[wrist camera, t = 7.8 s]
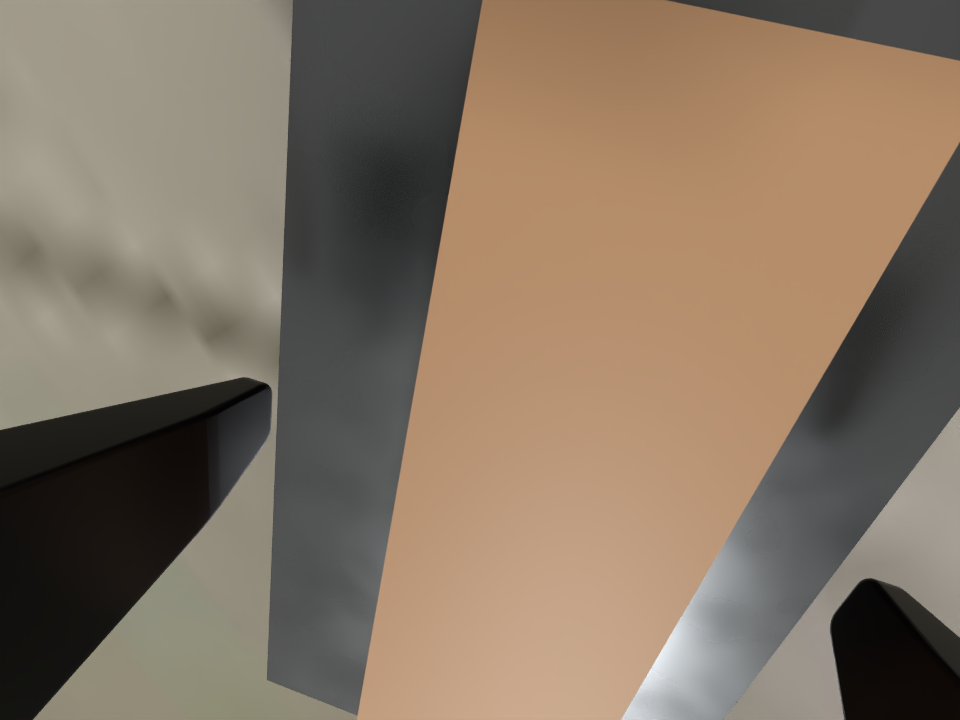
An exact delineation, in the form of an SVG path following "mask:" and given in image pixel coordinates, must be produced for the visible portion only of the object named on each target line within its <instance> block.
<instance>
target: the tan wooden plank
mask: <svg viewBox="0 0 960 720" xmlns="http://www.w3.org/2000/svg"><path fill="white" fill-rule="evenodd" d="M959 142H960V61H958V60H953V59H949V58H944V57H939V56H934V55H929V54H924V53H919V52H915V51H910V50H905V49H900V48H895V47H890V46H885V45H881V44H876V43H871V42H866V41H861V40H856V39H851V38H847V37H842V36H837V35H832V34H827V33H822V32H818V31H813V30H808V29H803V28H798V27H793V26H788V25H784V24H779V23H774V22H769V21H764V20H759V19H754V18H750V17H745V16H740V15H735V14H730V13H725V12H720V11H716V10H711V9H706V8H701V7H696V6H691V5H687V4H682V3H677V2H672V1H667V0H483V1H482V6H481V12H480V18H479V23H478V29H477V35H476V41H475V46H474V52H473V58H472V64H471V69H470V75H469V81H468V86H467V92H466V98H465V104H464V109H463V115H462V121H461V126H460V132H459V138H458V144H457V149H456V155H455V161H454V167H453V172H452V178H451V184H450V189H449V195H448V201H447V207H446V212H445V218H444V224H443V230H442V235H441V241H440V247H439V252H438V258H437V264H436V270H435V275H434V281H433V287H432V293H431V298H430V304H429V310H428V315H427V321H426V327H425V333H424V338H423V344H422V350H421V355H420V361H419V367H418V373H417V378H416V384H415V390H414V396H413V401H412V407H411V413H410V418H409V424H408V430H407V436H406V441H405V447H404V453H403V459H402V464H401V470H400V476H399V481H398V487H397V493H396V499H395V504H394V510H393V516H392V521H391V527H390V533H389V539H388V544H387V550H386V556H385V562H384V567H383V573H382V579H381V584H380V590H379V596H378V602H377V607H376V613H375V619H374V625H373V630H372V636H371V642H370V647H369V653H368V659H367V665H366V670H365V676H364V682H363V688H362V693H361V699H360V705H359V710H358V716H357V720H621V719H622V717H623V715H624V714H625V712H626V710H627V709H628V707H629V705H630V703H631V702H632V700H633V698H634V697H635V695H636V693H637V692H638V690H639V688H640V686H641V685H642V683H643V681H644V680H645V678H646V676H647V674H648V673H649V671H650V669H651V668H652V666H653V664H654V663H655V661H656V659H657V657H658V656H659V654H660V652H661V651H662V649H663V647H664V645H665V644H666V642H667V640H668V639H669V637H670V635H671V634H672V632H673V630H674V628H675V627H676V625H677V623H678V622H679V620H680V618H681V616H682V615H683V613H684V611H685V610H686V608H687V606H688V605H689V603H690V601H691V599H692V598H693V596H694V594H695V593H696V591H697V589H698V588H699V586H700V584H701V582H702V581H703V579H704V577H705V576H706V574H707V572H708V570H709V569H710V567H711V565H712V564H713V562H714V560H715V559H716V557H717V555H718V553H719V552H720V550H721V548H722V547H723V545H724V543H725V541H726V540H727V538H728V536H729V535H730V533H731V531H732V530H733V528H734V526H735V524H736V523H737V521H738V519H739V518H740V516H741V514H742V512H743V511H744V509H745V507H746V506H747V504H748V502H749V501H750V499H751V497H752V495H753V494H754V492H755V490H756V489H757V487H758V485H759V483H760V482H761V480H762V478H763V477H764V475H765V473H766V472H767V470H768V468H769V466H770V465H771V463H772V461H773V460H774V458H775V456H776V455H777V453H778V451H779V449H780V448H781V446H782V444H783V443H784V441H785V439H786V437H787V436H788V434H789V432H790V431H791V429H792V427H793V426H794V424H795V422H796V420H797V419H798V417H799V415H800V414H801V412H802V410H803V408H804V407H805V405H806V403H807V402H808V400H809V398H810V397H811V395H812V393H813V391H814V390H815V388H816V386H817V385H818V383H819V381H820V379H821V378H822V376H823V374H824V373H825V371H826V369H827V368H828V366H829V364H830V362H831V361H832V359H833V357H834V356H835V354H836V352H837V350H838V349H839V347H840V345H841V344H842V342H843V340H844V339H845V337H846V335H847V333H848V332H849V330H850V328H851V327H852V325H853V323H854V322H855V320H856V318H857V316H858V315H859V313H860V311H861V310H862V308H863V306H864V304H865V303H866V301H867V299H868V298H869V296H870V294H871V293H872V291H873V289H874V287H875V286H876V284H877V282H878V281H879V279H880V277H881V275H882V274H883V272H884V270H885V269H886V267H887V265H888V264H889V262H890V260H891V258H892V257H893V255H894V253H895V252H896V250H897V248H898V246H899V245H900V243H901V241H902V240H903V238H904V236H905V235H906V233H907V231H908V229H909V228H910V226H911V224H912V223H913V221H914V219H915V218H916V216H917V214H918V212H919V211H920V209H921V207H922V206H923V204H924V202H925V200H926V199H927V197H928V195H929V194H930V192H931V190H932V189H933V187H934V185H935V183H936V182H937V180H938V178H939V177H940V175H941V173H942V171H943V170H944V168H945V166H946V165H947V163H948V161H949V160H950V158H951V156H952V154H953V153H954V151H955V149H956V148H957V146H958V144H959Z"/></svg>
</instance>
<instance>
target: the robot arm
mask: <svg viewBox="0 0 960 720" xmlns="http://www.w3.org/2000/svg"><path fill="white" fill-rule="evenodd" d="M271 413H272V390H271V388H270V386H269V385H268V384H266V383H263V382H260V381H257V380H254V379H251V378H246V377H243V378H238V379H233V380H229V381H224V382H220V383H215V384H210V385H206V386H201V387H197V388H192V389H187V390H183V391H178V392H173V393H169V394H164V395H160V396H155V397H150V398H146V399H141V400H137V401H132V402H127V403H123V404H118V405H114V406H109V407H104V408H100V409H95V410H91V411H86V412H81V413H77V414H72V415H67V416H63V417H58V418H54V419H49V420H44V421H40V422H35V423H31V424H26V425H21V426H17V427H12V428H8V429H3V430H0V720H33V719H34V718H35V717H36V716H37V714H38V713H39V712H40V711H41V710H42V709H43V708H44V706H45V705H46V704H47V703H48V702H49V701H50V700H51V699H52V697H53V696H54V695H55V694H56V693H57V692H58V691H59V690H60V688H61V687H62V686H63V685H64V684H65V683H66V682H67V681H68V679H69V678H70V677H71V676H72V675H73V674H74V673H75V671H76V670H77V669H78V668H79V667H80V666H81V665H82V664H83V662H84V661H85V660H86V659H87V658H88V657H89V656H90V655H91V653H92V652H93V651H94V650H95V649H96V648H97V647H98V646H99V644H100V643H101V642H102V641H103V640H104V639H105V638H106V636H107V635H108V634H109V633H110V632H111V631H112V630H113V629H114V627H115V626H116V625H117V624H118V623H119V622H120V621H121V620H122V618H123V617H124V616H125V615H126V614H127V613H128V612H129V611H130V609H131V608H132V607H133V606H134V605H135V604H136V603H137V601H138V600H139V599H140V598H141V597H142V596H143V595H144V594H145V592H146V591H147V590H148V589H149V588H150V587H151V586H152V585H153V583H154V582H155V581H156V580H157V579H158V578H159V577H160V576H161V574H162V573H163V572H164V571H165V570H166V569H167V568H168V566H169V565H170V564H171V563H172V562H173V561H174V560H175V559H176V557H177V556H178V555H179V554H180V553H181V552H182V551H183V550H184V548H185V547H186V546H187V545H188V544H189V543H190V542H191V541H192V539H193V538H194V537H195V536H196V535H197V534H198V533H199V531H200V530H201V529H202V528H203V527H204V526H205V524H206V523H207V522H208V521H209V520H210V518H211V517H212V516H213V515H214V513H215V512H216V511H217V509H218V508H219V507H220V505H221V504H222V503H223V501H224V500H225V498H226V497H227V496H228V494H229V493H230V491H231V490H232V489H233V487H234V486H235V484H236V483H237V482H238V480H239V479H240V477H241V476H242V475H243V473H244V472H245V470H246V469H247V468H248V466H249V465H250V463H251V462H252V461H253V459H254V458H255V456H256V455H257V454H258V452H259V451H260V449H261V448H262V447H263V445H264V444H265V442H266V441H267V439H268V436H269V434H270V430H271ZM830 634H831V640H832V646H833V653H834V659H835V665H836V671H837V677H838V683H839V689H840V695H841V702H842V708H843V714H844V720H960V637H958V636H957V635H956V634H955V633H954V632H953V631H951V630H950V629H949V628H948V627H947V626H946V625H944V624H943V623H942V622H941V621H940V620H939V619H937V618H936V617H935V616H934V615H933V614H932V613H930V612H929V611H928V610H927V609H926V608H924V607H923V606H922V605H921V604H920V603H919V602H917V601H916V600H915V599H914V598H913V597H912V596H910V595H909V594H908V593H907V592H906V591H904V590H903V589H901V588H899V587H897V586H894V585H891V584H888V583H885V582H882V581H879V580H876V579H872V578H869V579H864V580H862V581H860V582H859V583H858V584H857V585H856V587H855V588H854V589H853V590H852V592H851V593H850V594H849V595H848V597H847V598H846V599H845V600H844V602H843V603H842V604H841V606H840V607H839V608H838V609H837V611H836V612H835V613H834V615H833V617H832V620H831V624H830Z"/></svg>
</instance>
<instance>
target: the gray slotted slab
mask: <svg viewBox="0 0 960 720" xmlns="http://www.w3.org/2000/svg"><path fill="white" fill-rule="evenodd" d="M482 1H483V0H293V22H292V48H291V73H290V99H289V125H288V151H287V176H286V202H285V228H284V254H283V279H282V305H281V331H280V357H279V382H278V408H277V434H276V460H275V485H274V511H273V537H272V563H271V588H270V614H269V640H268V666H267V680H269V681H271V682H274V683H276V684H279V685H281V686H284V687H286V688H289V689H291V690H294V691H297V692H299V693H302V694H304V695H307V696H309V697H312V698H314V699H317V700H319V701H322V702H325V703H327V704H330V705H332V706H335V707H337V708H340V709H342V710H345V711H348V712H350V713H353V714H355V715H358V710H359V705H360V699H361V693H362V688H363V682H364V676H365V670H366V665H367V659H368V653H369V647H370V642H371V636H372V630H373V625H374V619H375V613H376V607H377V602H378V596H379V590H380V584H381V579H382V573H383V567H384V562H385V556H386V550H387V544H388V539H389V533H390V527H391V521H392V516H393V510H394V504H395V499H396V493H397V487H398V481H399V476H400V470H401V464H402V459H403V453H404V447H405V441H406V436H407V430H408V424H409V418H410V413H411V407H412V401H413V396H414V390H415V384H416V378H417V373H418V367H419V361H420V355H421V350H422V344H423V338H424V333H425V327H426V321H427V315H428V310H429V304H430V298H431V293H432V287H433V281H434V275H435V270H436V264H437V258H438V252H439V247H440V241H441V235H442V230H443V224H444V218H445V212H446V207H447V201H448V195H449V189H450V184H451V178H452V172H453V167H454V161H455V155H456V149H457V144H458V138H459V132H460V126H461V121H462V115H463V109H464V104H465V98H466V92H467V86H468V81H469V75H470V69H471V64H472V58H473V52H474V46H475V41H476V35H477V29H478V23H479V18H480V12H481V6H482ZM667 1H672V2H677V3H682V4H687V5H691V6H696V7H701V8H706V9H711V10H716V11H720V12H725V13H730V14H735V15H740V16H745V17H750V18H754V19H759V20H764V21H769V22H774V23H779V24H784V25H788V26H793V27H798V28H803V29H808V30H813V31H818V32H822V33H827V34H832V35H837V36H842V37H847V38H851V39H856V40H861V41H866V42H871V43H876V44H881V45H885V46H890V47H895V48H900V49H905V50H910V51H915V52H919V53H924V54H929V55H934V56H939V57H944V58H949V59H953V60H958V61H960V0H667ZM959 407H960V142H959V144H958V146H957V148H956V149H955V151H954V153H953V154H952V156H951V158H950V160H949V161H948V163H947V165H946V166H945V168H944V170H943V171H942V173H941V175H940V177H939V178H938V180H937V182H936V183H935V185H934V187H933V189H932V190H931V192H930V194H929V195H928V197H927V199H926V200H925V202H924V204H923V206H922V207H921V209H920V211H919V212H918V214H917V216H916V218H915V219H914V221H913V223H912V224H911V226H910V228H909V229H908V231H907V233H906V235H905V236H904V238H903V240H902V241H901V243H900V245H899V246H898V248H897V250H896V252H895V253H894V255H893V257H892V258H891V260H890V262H889V264H888V265H887V267H886V269H885V270H884V272H883V274H882V275H881V277H880V279H879V281H878V282H877V284H876V286H875V287H874V289H873V291H872V293H871V294H870V296H869V298H868V299H867V301H866V303H865V304H864V306H863V308H862V310H861V311H860V313H859V315H858V316H857V318H856V320H855V322H854V323H853V325H852V327H851V328H850V330H849V332H848V333H847V335H846V337H845V339H844V340H843V342H842V344H841V345H840V347H839V349H838V350H837V352H836V354H835V356H834V357H833V359H832V361H831V362H830V364H829V366H828V368H827V369H826V371H825V373H824V374H823V376H822V378H821V379H820V381H819V383H818V385H817V386H816V388H815V390H814V391H813V393H812V395H811V397H810V398H809V400H808V402H807V403H806V405H805V407H804V408H803V410H802V412H801V414H800V415H799V417H798V419H797V420H796V422H795V424H794V426H793V427H792V429H791V431H790V432H789V434H788V436H787V437H786V439H785V441H784V443H783V444H782V446H781V448H780V449H779V451H778V453H777V455H776V456H775V458H774V460H773V461H772V463H771V465H770V466H769V468H768V470H767V472H766V473H765V475H764V477H763V478H762V480H761V482H760V483H759V485H758V487H757V489H756V490H755V492H754V494H753V495H752V497H751V499H750V501H749V502H748V504H747V506H746V507H745V509H744V511H743V512H742V514H741V516H740V518H739V519H738V521H737V523H736V524H735V526H734V528H733V530H732V531H731V533H730V535H729V536H728V538H727V540H726V541H725V543H724V545H723V547H722V548H721V550H720V552H719V553H718V555H717V557H716V559H715V560H714V562H713V564H712V565H711V567H710V569H709V570H708V572H707V574H706V576H705V577H704V579H703V581H702V582H701V584H700V586H699V588H698V589H697V591H696V593H695V594H694V596H693V598H692V599H691V601H690V603H689V605H688V606H687V608H686V610H685V611H684V613H683V615H682V616H681V618H680V620H679V622H678V623H677V625H676V627H675V628H674V630H673V632H672V634H671V635H670V637H669V639H668V640H667V642H666V644H665V645H664V647H663V649H662V651H661V652H660V654H659V656H658V657H657V659H656V661H655V663H654V664H653V666H652V668H651V669H650V671H649V673H648V674H647V676H646V678H645V680H644V681H643V683H642V685H641V686H640V688H639V690H638V692H637V693H636V695H635V697H634V698H633V700H632V702H631V703H630V705H629V707H628V709H627V710H626V712H625V714H624V715H623V717H622V719H621V720H724V718H725V717H726V716H727V714H728V713H729V712H730V710H731V709H732V708H733V706H734V705H735V704H736V703H737V701H738V700H739V699H740V697H741V696H742V695H743V693H744V692H745V691H746V689H747V688H748V687H749V685H750V684H751V683H752V681H753V680H754V679H755V677H756V676H757V675H758V673H759V672H760V671H761V669H762V668H763V667H764V665H765V664H766V663H767V661H768V660H769V659H770V658H771V656H772V655H773V654H774V652H775V651H776V650H777V648H778V647H779V646H780V644H781V643H782V642H783V640H784V639H785V638H786V636H787V635H788V634H789V632H790V631H791V630H792V628H793V627H794V626H795V624H796V623H797V622H798V620H799V619H800V618H801V617H802V615H803V614H804V613H805V611H806V610H807V609H808V607H809V606H810V605H811V603H812V602H813V601H814V599H815V598H816V597H817V595H818V594H819V593H820V591H821V590H822V589H823V587H824V586H825V585H826V583H827V582H828V581H829V579H830V578H831V577H832V576H833V574H834V573H835V572H836V570H837V569H838V568H839V566H840V565H841V564H842V562H843V561H844V560H845V558H846V557H847V556H848V554H849V553H850V552H851V550H852V549H853V548H854V546H855V545H856V544H857V542H858V541H859V540H860V538H861V537H862V536H863V534H864V533H865V532H866V531H867V529H868V528H869V527H870V525H871V524H872V523H873V521H874V520H875V519H876V517H877V516H878V515H879V513H880V512H881V511H882V509H883V508H884V507H885V505H886V504H887V503H888V501H889V500H890V499H891V497H892V496H893V495H894V493H895V492H896V491H897V490H898V488H899V487H900V486H901V484H902V483H903V482H904V480H905V479H906V478H907V476H908V475H909V474H910V472H911V471H912V470H913V468H914V467H915V466H916V464H917V463H918V462H919V460H920V459H921V458H922V456H923V455H924V454H925V452H926V451H927V450H928V448H929V447H930V446H931V445H932V443H933V442H934V441H935V439H936V438H937V437H938V435H939V434H940V433H941V431H942V430H943V429H944V427H945V426H946V425H947V423H948V422H949V421H950V419H951V418H952V417H953V415H954V414H955V413H956V411H957V410H958V409H959Z"/></svg>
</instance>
